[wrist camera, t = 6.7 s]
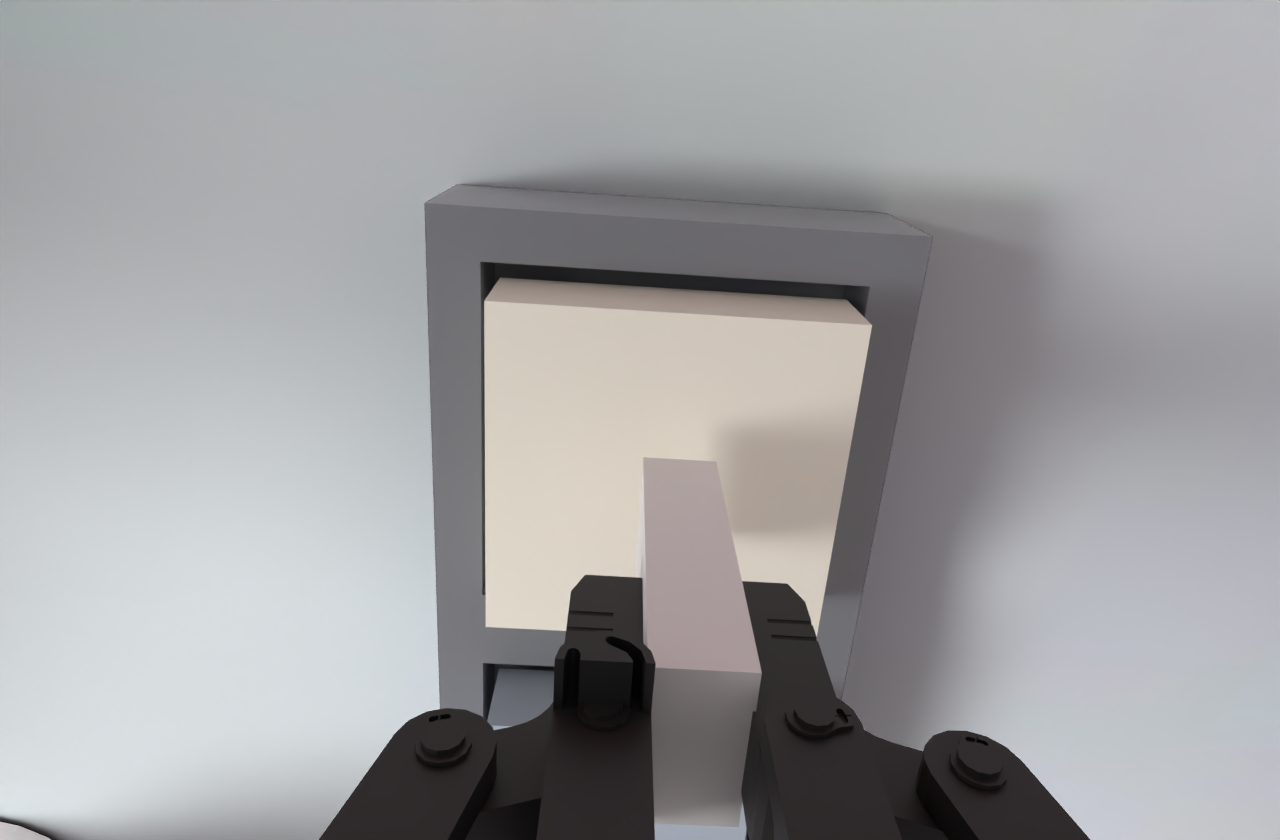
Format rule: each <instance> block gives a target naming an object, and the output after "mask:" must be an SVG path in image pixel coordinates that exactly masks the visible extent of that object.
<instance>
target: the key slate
mask: <svg viewBox="0 0 1280 840" xmlns="http://www.w3.org/2000/svg"><path fill="white" fill-rule="evenodd" d="M553 693H554V671H542V670H521V669H500V668H499V671H498V675H497V680H496V684H495V689H494V693H493V697H492V702H491V706H490V711H489V715H488V719H487V722H488V723H489V724H490V725H491V726H492V727H493V730H497V729H502V728H507V727H512V726H515V725H519V724H522V723H525V722H528V721H530V720H532V719H534V718H536V717H538V716H539V715H541V714H542V713H543V712H544V711H545V710H547V709H548V708H549V707H550V705H551V704H552V703H553ZM654 827H655V840H745V836H746V829H747V828H746V822H745V815H744V808H743V802H742V808H741V815H740V822H739V827H724V826H702V825H680V824H657V823H654Z"/></svg>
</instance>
